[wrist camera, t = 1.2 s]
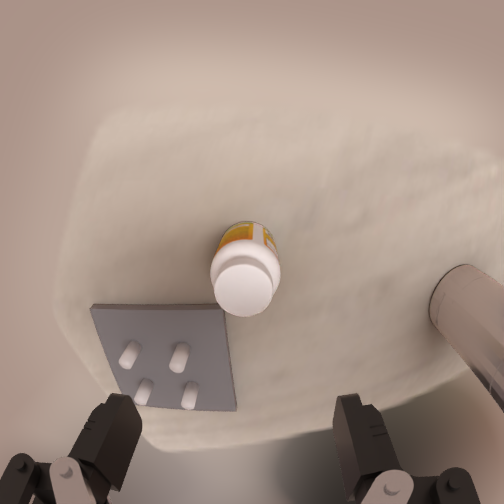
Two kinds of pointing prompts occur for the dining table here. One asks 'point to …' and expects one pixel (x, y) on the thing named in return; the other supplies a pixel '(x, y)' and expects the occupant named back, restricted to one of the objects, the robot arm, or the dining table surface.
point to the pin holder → (168, 354)
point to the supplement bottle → (245, 269)
